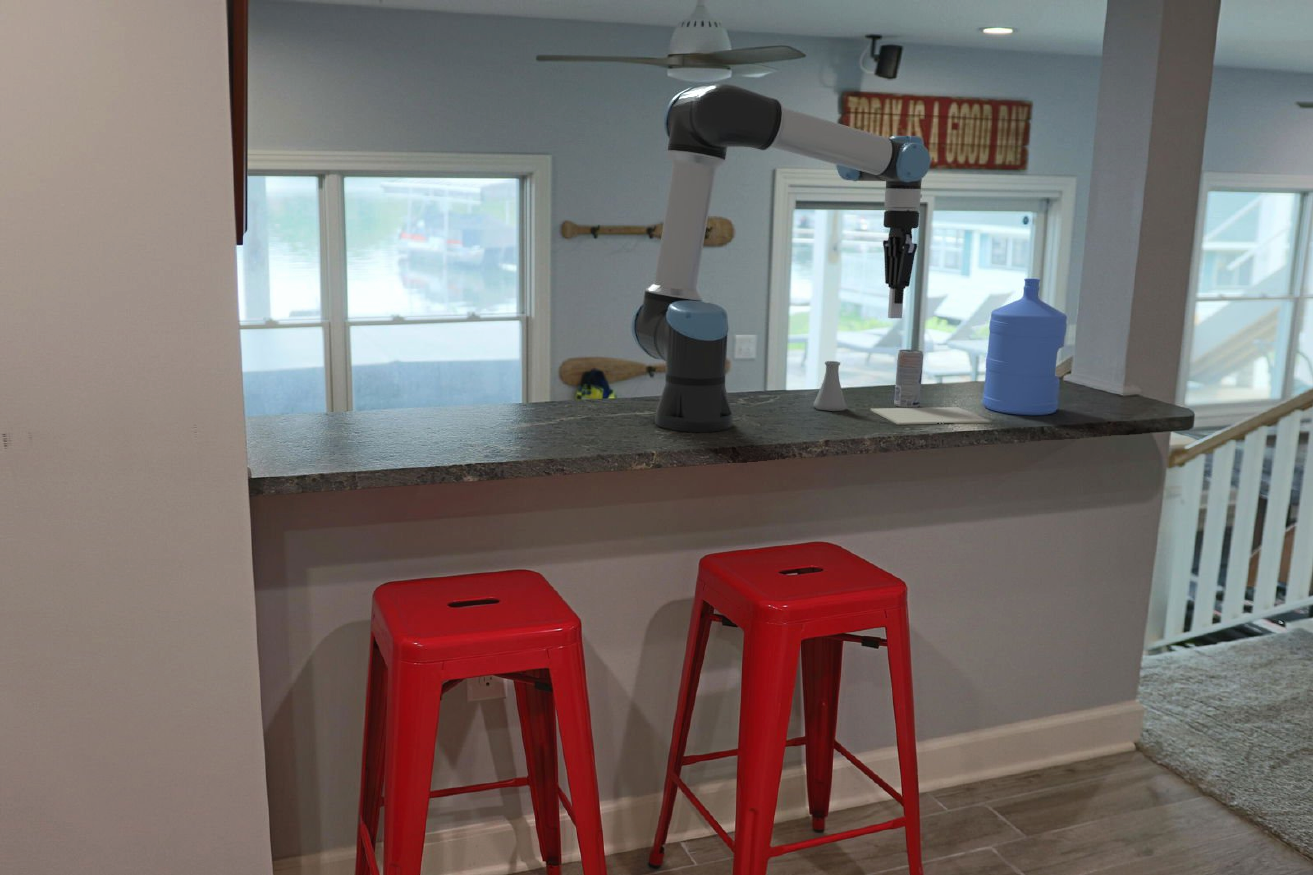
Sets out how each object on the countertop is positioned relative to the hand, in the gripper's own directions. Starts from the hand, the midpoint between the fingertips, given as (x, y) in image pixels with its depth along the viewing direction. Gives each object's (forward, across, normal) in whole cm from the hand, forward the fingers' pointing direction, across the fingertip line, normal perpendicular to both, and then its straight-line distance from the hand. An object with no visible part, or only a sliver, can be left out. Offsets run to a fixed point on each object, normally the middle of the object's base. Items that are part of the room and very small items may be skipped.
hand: (894, 317), depth 245 cm
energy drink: (+18, -10, 0) cm, 21 cm away
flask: (+18, -11, +18) cm, 28 cm away
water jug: (+18, -15, -24) cm, 33 cm away
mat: (+18, -21, 0) cm, 28 cm away
